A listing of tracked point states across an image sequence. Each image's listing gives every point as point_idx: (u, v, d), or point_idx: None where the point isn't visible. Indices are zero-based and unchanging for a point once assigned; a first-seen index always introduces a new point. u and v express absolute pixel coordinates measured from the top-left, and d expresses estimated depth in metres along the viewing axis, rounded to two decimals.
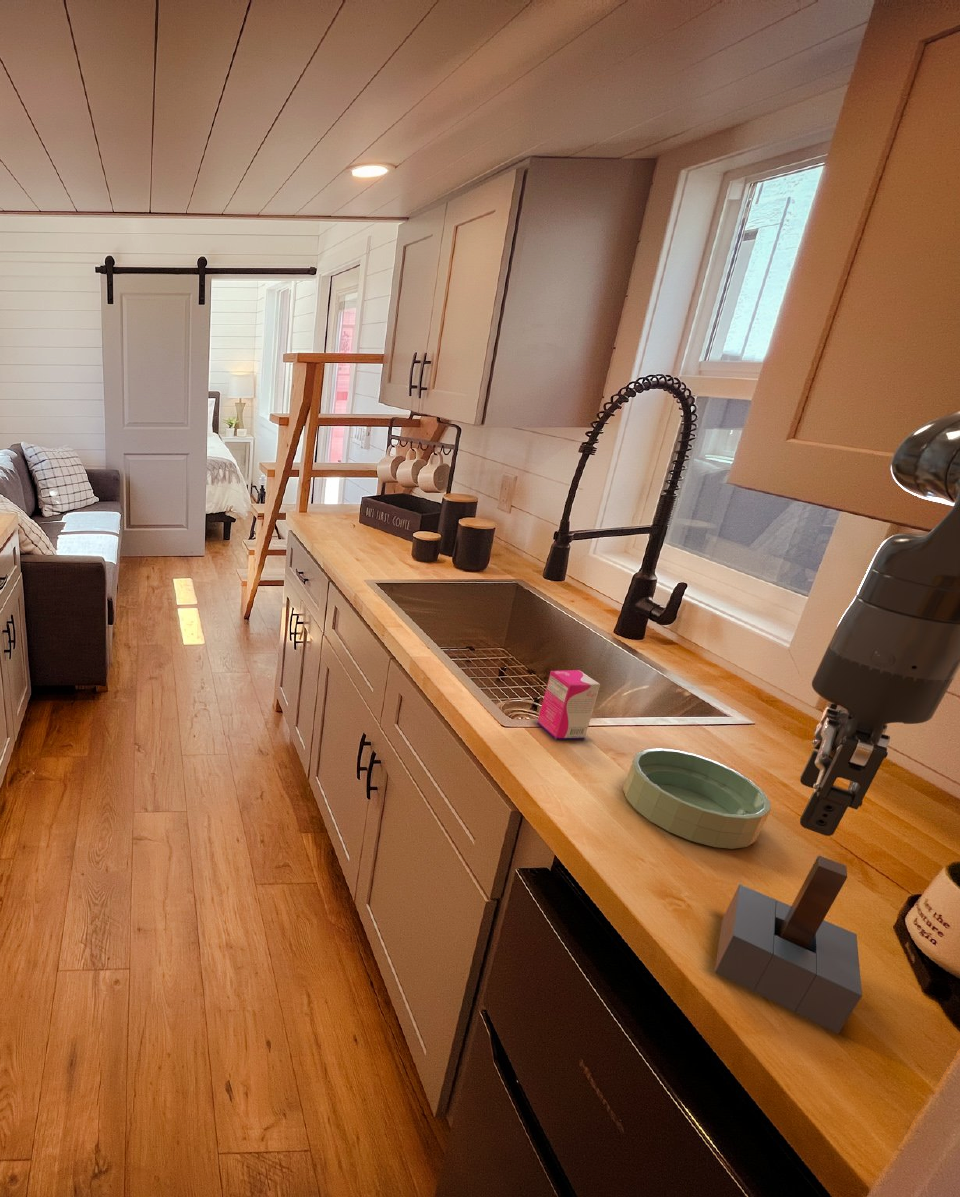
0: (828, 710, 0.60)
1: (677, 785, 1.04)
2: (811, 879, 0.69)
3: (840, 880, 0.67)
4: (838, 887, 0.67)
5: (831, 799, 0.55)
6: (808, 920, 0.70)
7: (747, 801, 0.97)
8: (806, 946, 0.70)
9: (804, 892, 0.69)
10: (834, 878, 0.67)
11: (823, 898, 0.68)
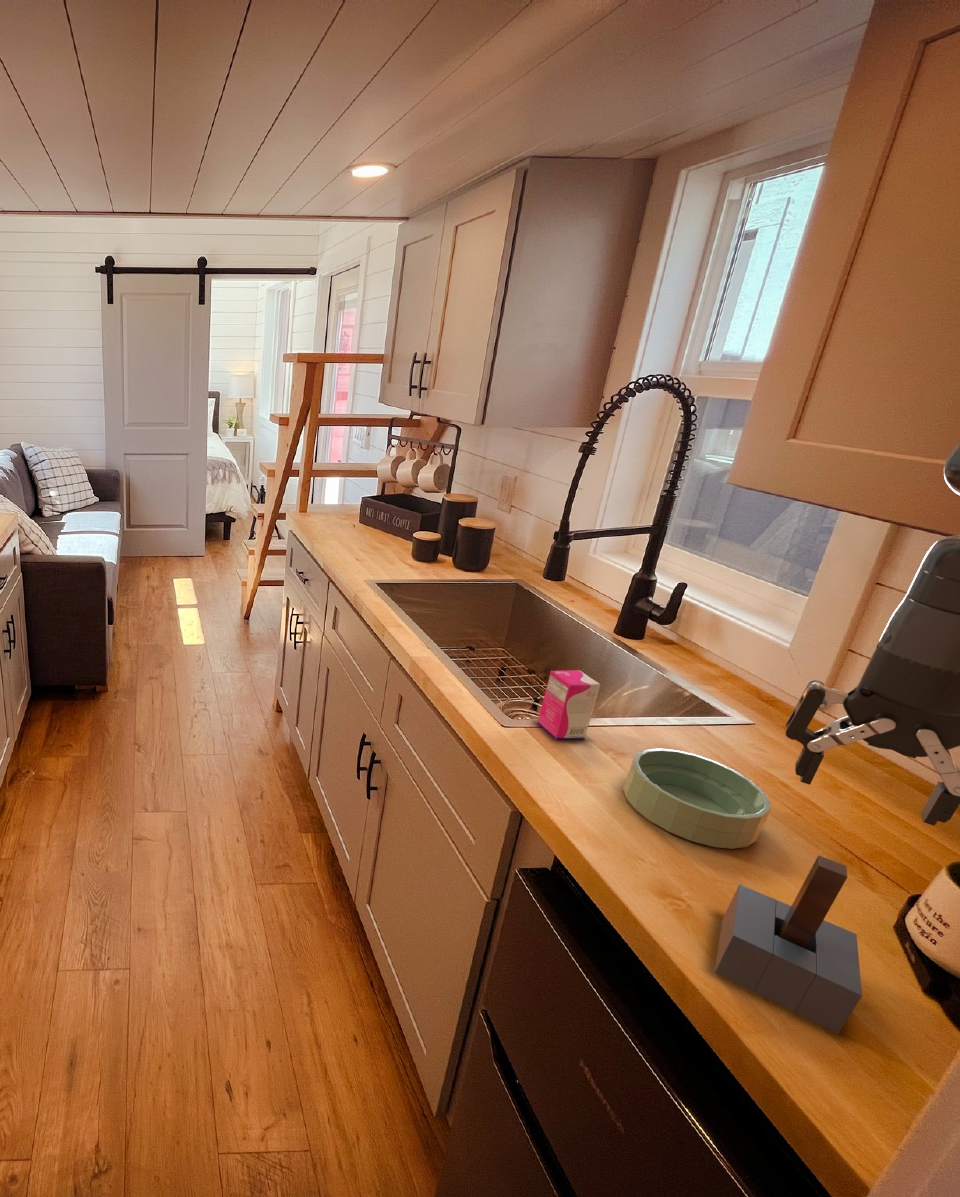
0: (893, 720, 0.60)
1: (677, 785, 1.04)
2: (811, 879, 0.69)
3: (840, 880, 0.67)
4: (838, 887, 0.67)
5: None
6: (808, 920, 0.70)
7: (747, 801, 0.97)
8: (806, 946, 0.70)
9: (804, 892, 0.69)
10: (834, 878, 0.67)
11: (823, 898, 0.68)
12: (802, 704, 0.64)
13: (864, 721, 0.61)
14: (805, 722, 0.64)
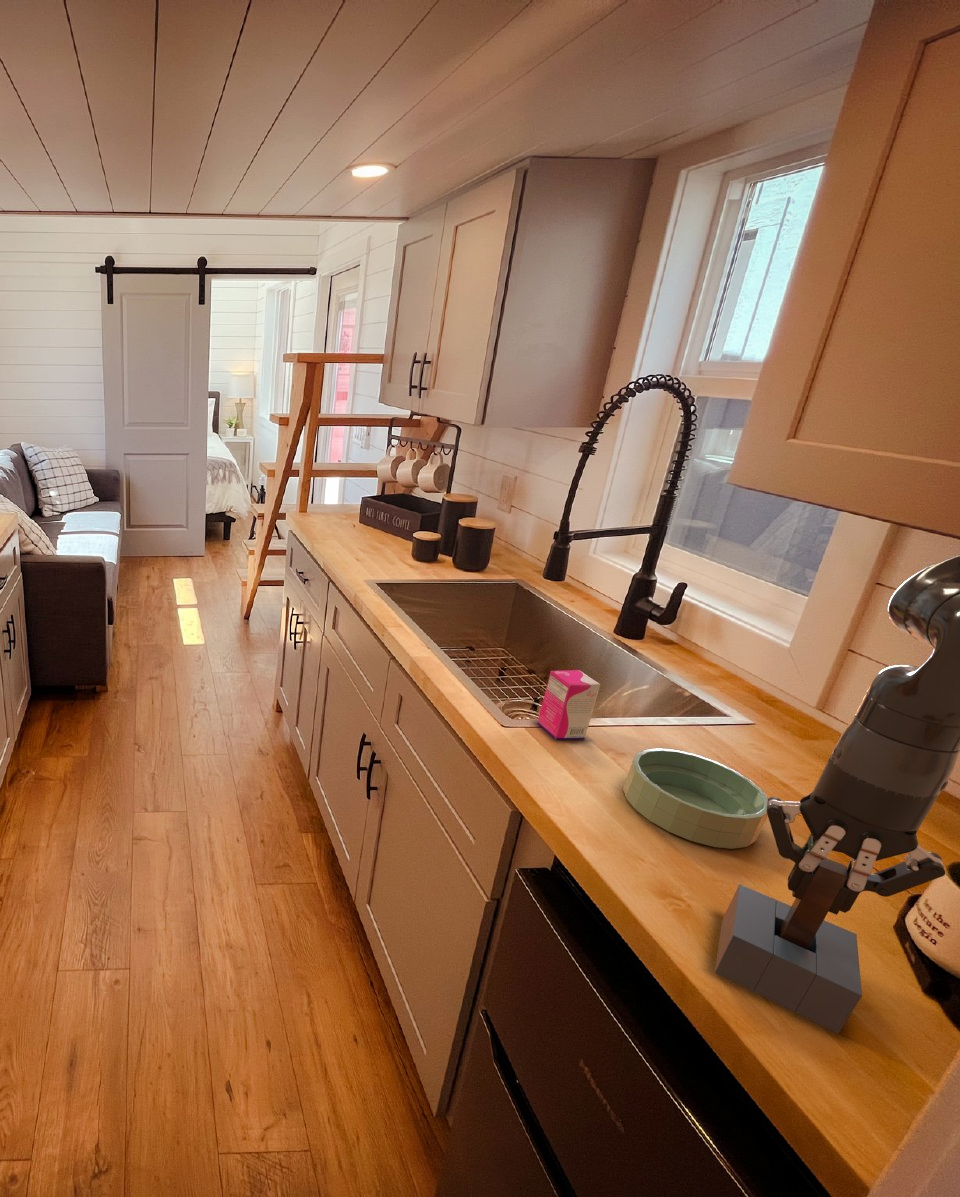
0: (839, 826, 0.65)
1: (677, 785, 1.04)
2: None
3: (840, 880, 0.67)
4: (838, 887, 0.67)
5: None
6: (808, 920, 0.70)
7: (747, 801, 0.97)
8: (806, 946, 0.70)
9: None
10: (834, 878, 0.67)
11: (823, 898, 0.68)
12: (771, 824, 0.70)
13: (822, 832, 0.67)
14: (786, 840, 0.69)
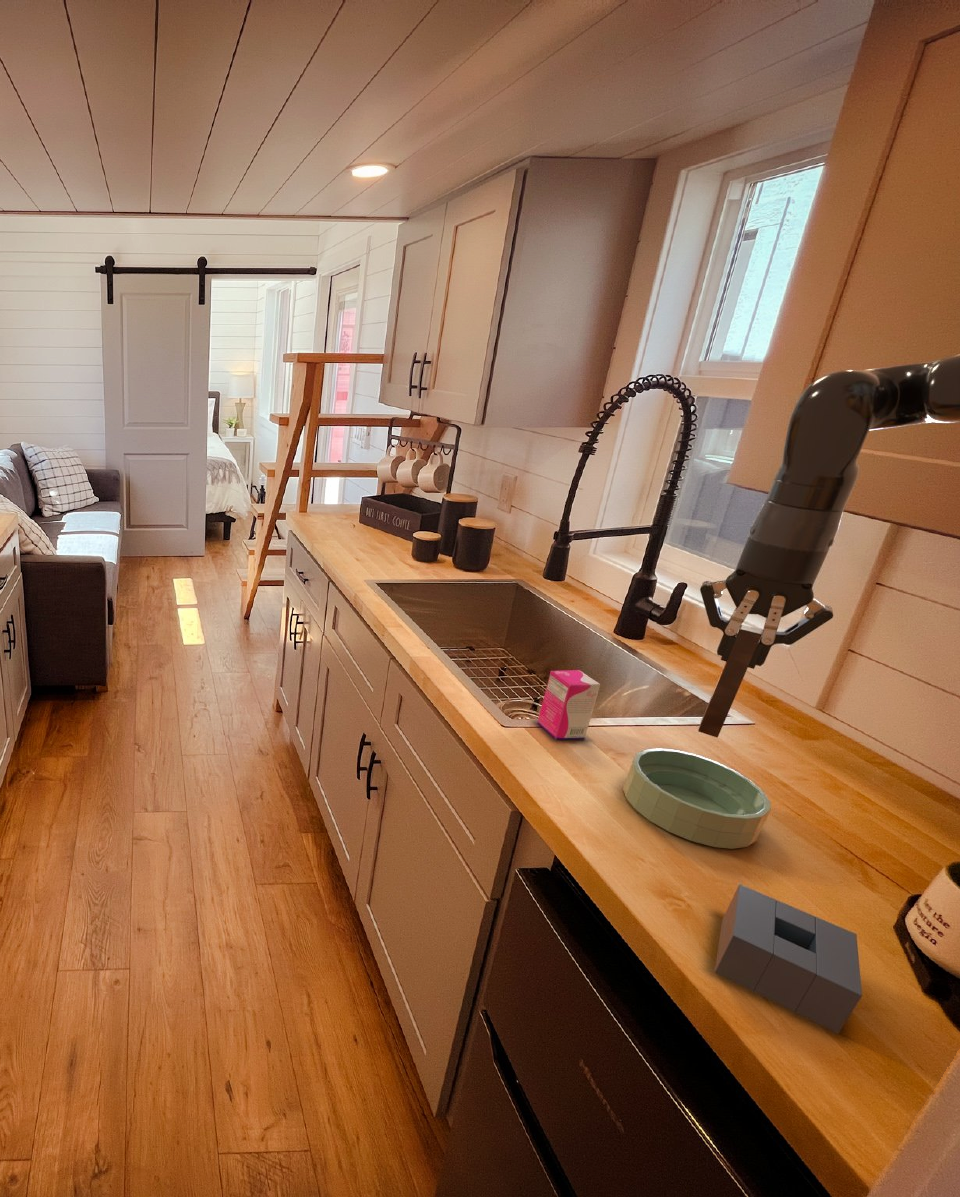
0: (754, 590, 0.82)
1: (677, 785, 1.04)
2: (735, 642, 0.86)
3: (756, 638, 0.84)
4: (755, 644, 0.84)
5: None
6: (733, 678, 0.87)
7: (747, 801, 0.97)
8: (731, 700, 0.87)
9: None
10: (752, 637, 0.84)
11: (744, 656, 0.85)
12: (703, 600, 0.86)
13: (742, 599, 0.84)
14: (715, 611, 0.86)
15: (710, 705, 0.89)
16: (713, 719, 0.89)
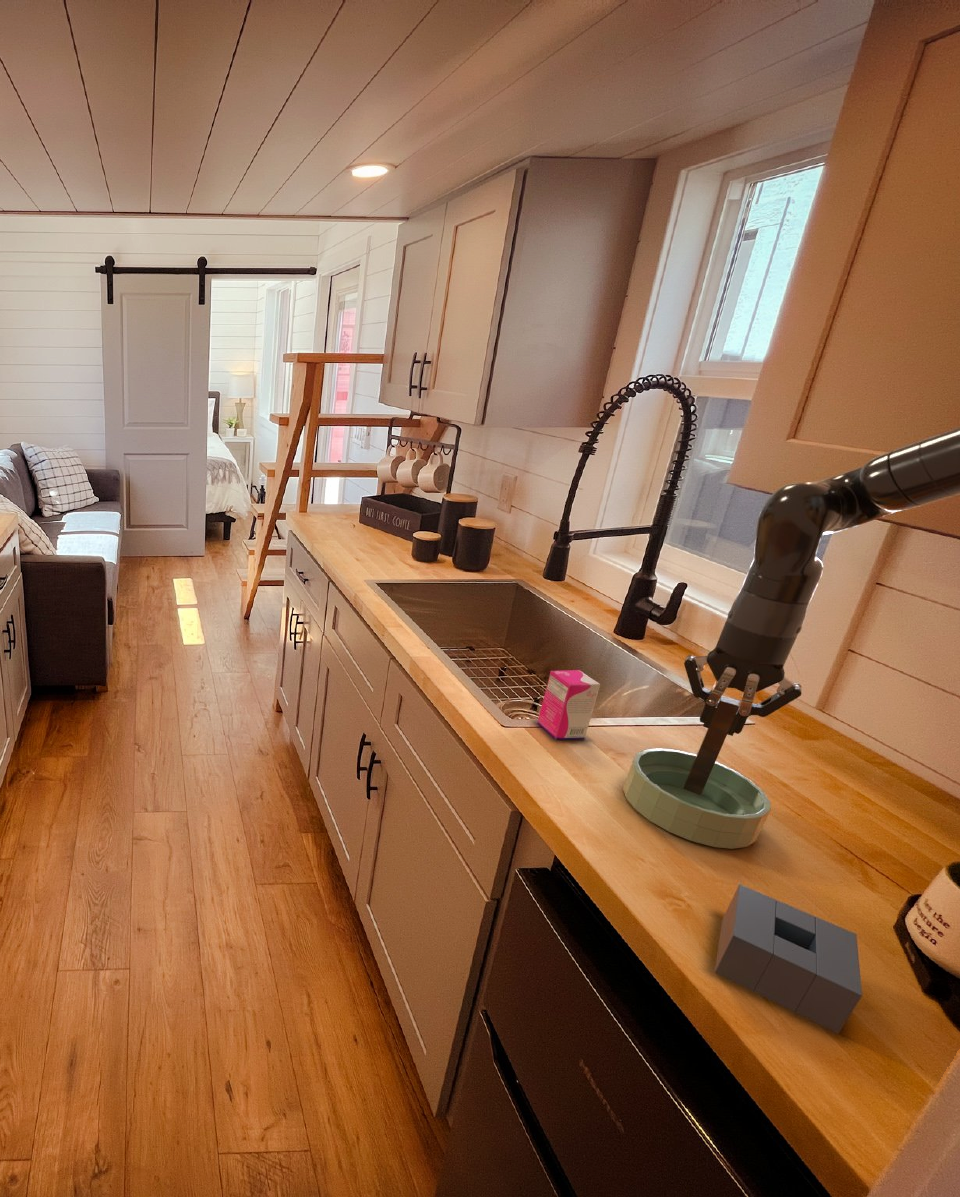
0: (731, 667, 0.92)
1: (677, 785, 1.04)
2: None
3: (734, 709, 0.93)
4: (733, 715, 0.94)
5: None
6: (714, 743, 0.96)
7: (747, 801, 0.97)
8: (713, 763, 0.97)
9: (711, 722, 0.96)
10: (730, 708, 0.94)
11: (723, 724, 0.95)
12: (687, 673, 0.96)
13: (721, 674, 0.93)
14: (697, 683, 0.95)
15: (694, 766, 0.98)
16: (696, 778, 0.99)
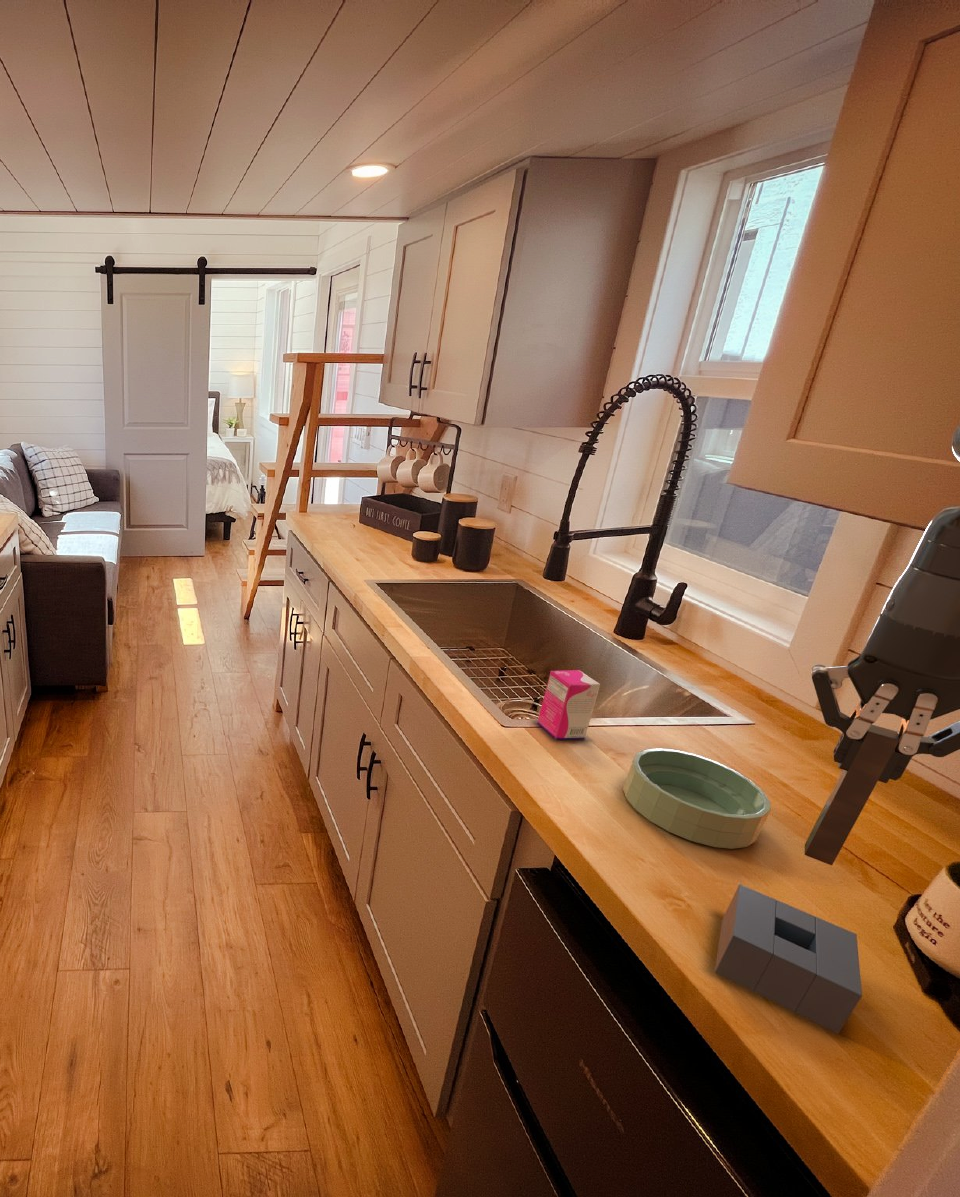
0: (891, 683, 0.62)
1: (677, 785, 1.04)
2: (860, 747, 0.65)
3: (892, 745, 0.64)
4: (889, 752, 0.64)
5: None
6: (856, 792, 0.66)
7: (747, 801, 0.97)
8: (853, 821, 0.67)
9: (852, 762, 0.66)
10: (885, 743, 0.64)
11: (873, 766, 0.65)
12: (816, 691, 0.66)
13: (872, 693, 0.63)
14: (832, 706, 0.66)
15: (823, 824, 0.69)
16: (826, 841, 0.69)
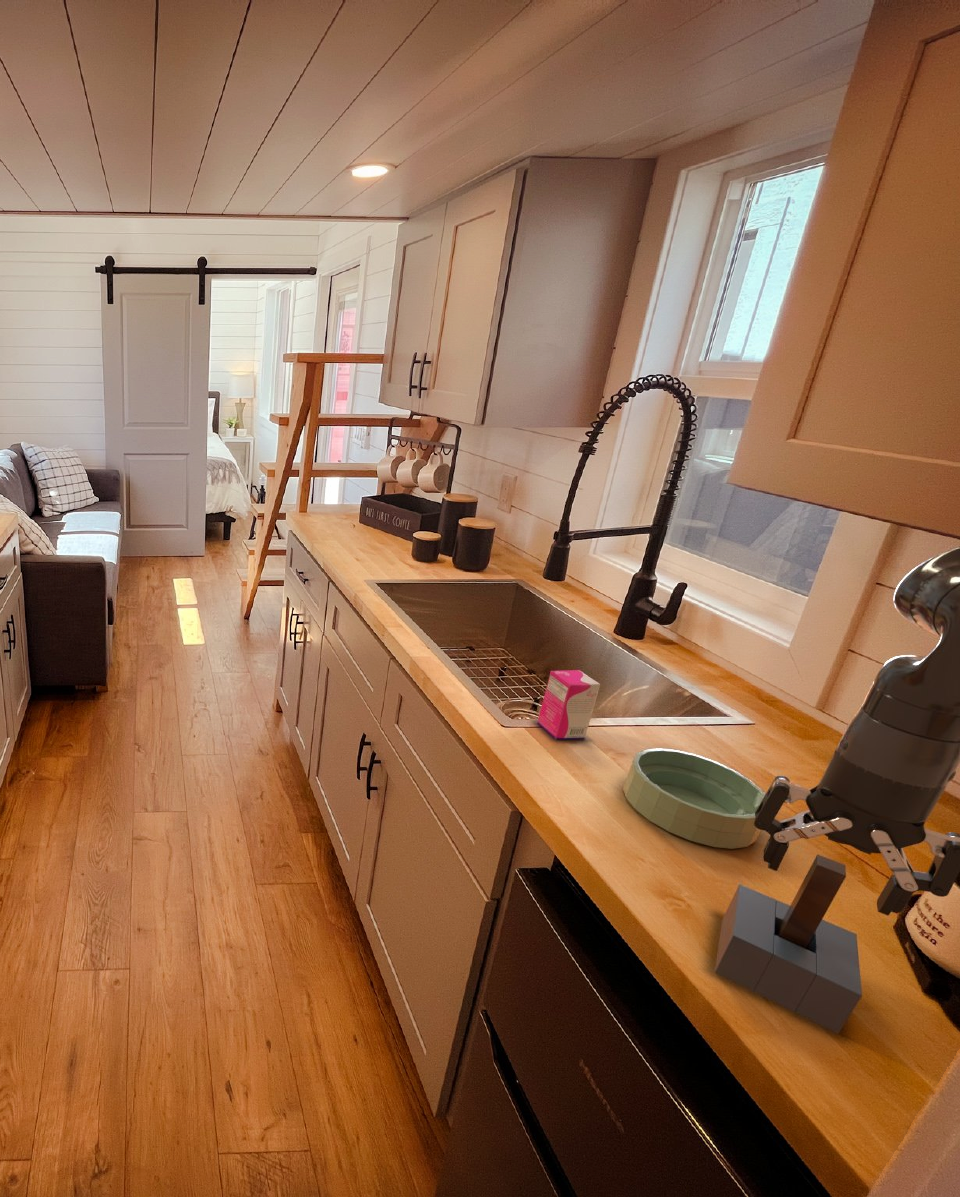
0: (850, 820, 0.65)
1: (677, 785, 1.04)
2: (810, 878, 0.69)
3: (839, 879, 0.67)
4: (837, 886, 0.67)
5: None
6: (807, 919, 0.70)
7: (747, 801, 0.97)
8: (805, 945, 0.71)
9: (803, 891, 0.70)
10: (833, 877, 0.67)
11: (822, 897, 0.69)
12: (769, 798, 0.69)
13: (824, 818, 0.67)
14: (771, 815, 0.69)
15: None
16: None
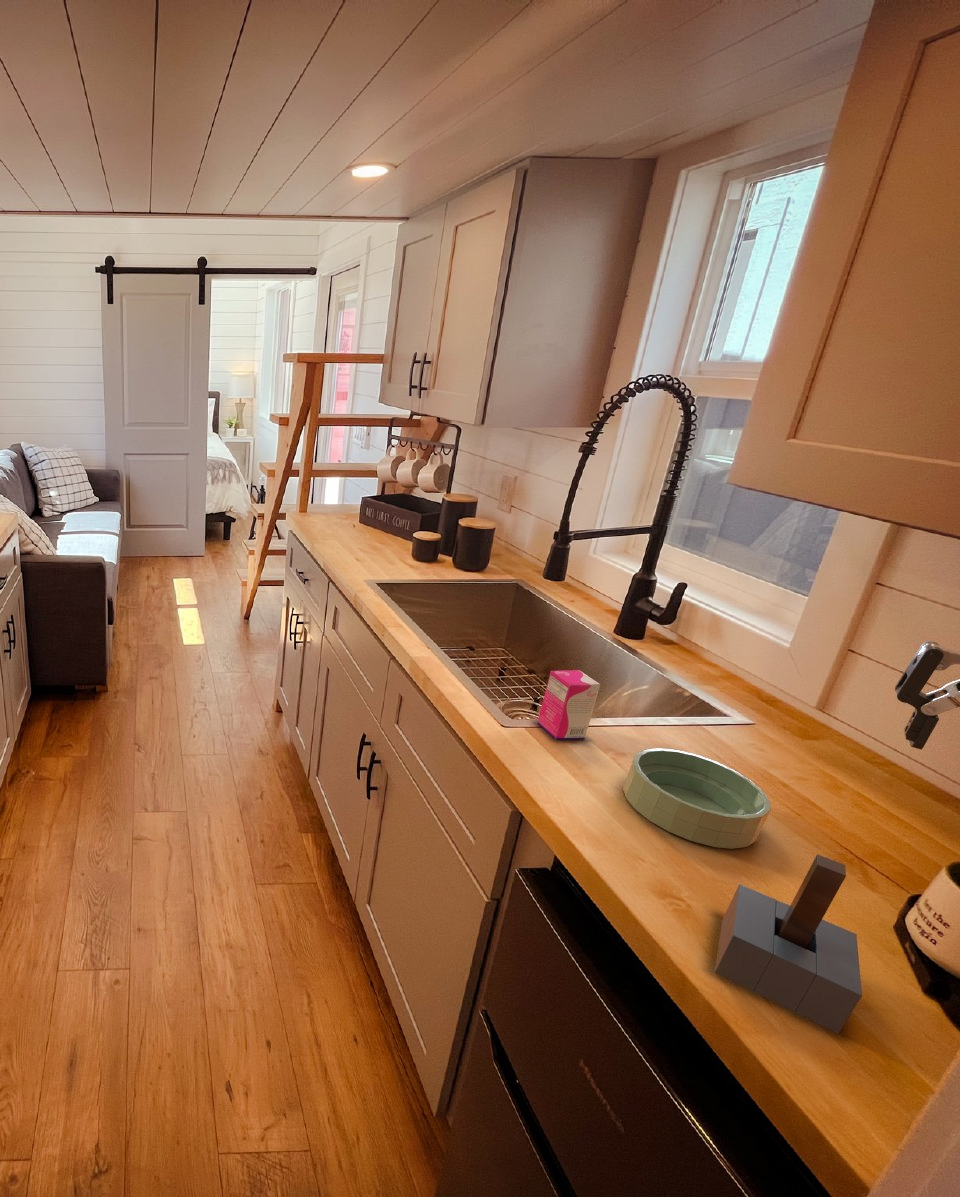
0: None
1: (677, 785, 1.04)
2: (810, 878, 0.69)
3: (839, 879, 0.67)
4: (837, 886, 0.67)
5: None
6: (807, 919, 0.70)
7: (747, 801, 0.97)
8: (805, 945, 0.71)
9: (803, 891, 0.70)
10: (833, 877, 0.67)
11: (822, 897, 0.69)
12: (917, 665, 0.62)
13: None
14: (920, 684, 0.62)
15: None
16: None
